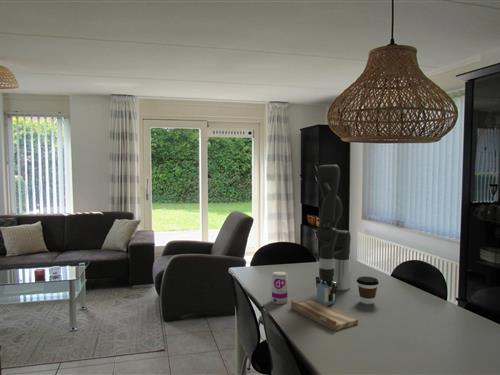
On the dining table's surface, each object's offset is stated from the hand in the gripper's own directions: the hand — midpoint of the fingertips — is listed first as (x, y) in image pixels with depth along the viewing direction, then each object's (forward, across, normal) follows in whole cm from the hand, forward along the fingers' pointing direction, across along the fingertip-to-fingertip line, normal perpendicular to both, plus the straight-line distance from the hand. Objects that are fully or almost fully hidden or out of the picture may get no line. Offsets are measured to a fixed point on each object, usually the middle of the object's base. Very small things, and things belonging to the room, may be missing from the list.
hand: (326, 299), depth 201 cm
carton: (+2, 0, 0) cm, 2 cm away
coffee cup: (+2, -10, -19) cm, 22 cm away
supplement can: (+2, +14, +19) cm, 24 cm away
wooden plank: (+2, -12, +13) cm, 18 cm away
